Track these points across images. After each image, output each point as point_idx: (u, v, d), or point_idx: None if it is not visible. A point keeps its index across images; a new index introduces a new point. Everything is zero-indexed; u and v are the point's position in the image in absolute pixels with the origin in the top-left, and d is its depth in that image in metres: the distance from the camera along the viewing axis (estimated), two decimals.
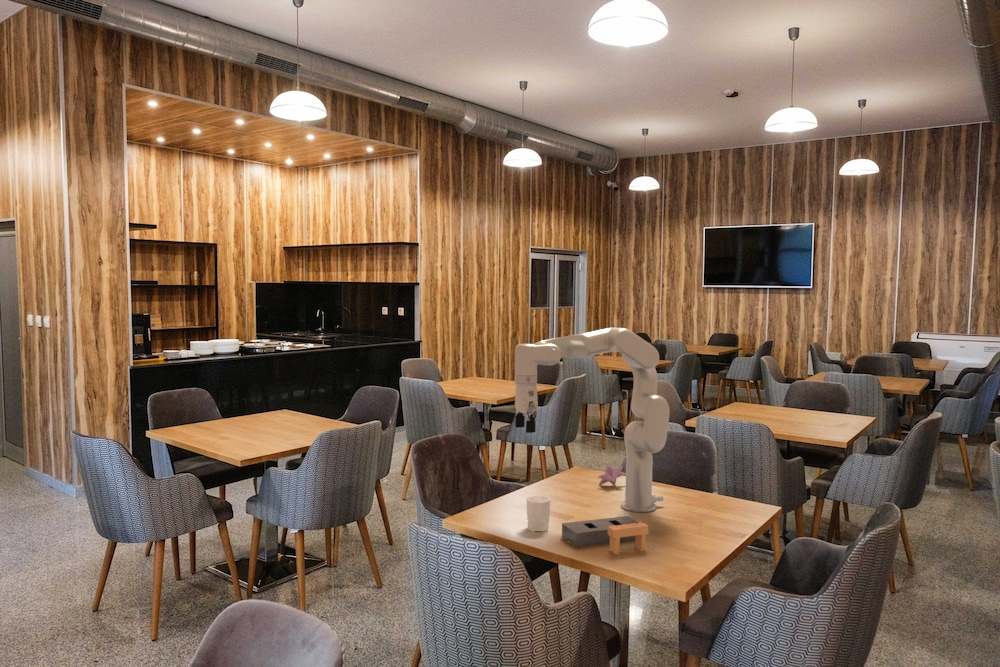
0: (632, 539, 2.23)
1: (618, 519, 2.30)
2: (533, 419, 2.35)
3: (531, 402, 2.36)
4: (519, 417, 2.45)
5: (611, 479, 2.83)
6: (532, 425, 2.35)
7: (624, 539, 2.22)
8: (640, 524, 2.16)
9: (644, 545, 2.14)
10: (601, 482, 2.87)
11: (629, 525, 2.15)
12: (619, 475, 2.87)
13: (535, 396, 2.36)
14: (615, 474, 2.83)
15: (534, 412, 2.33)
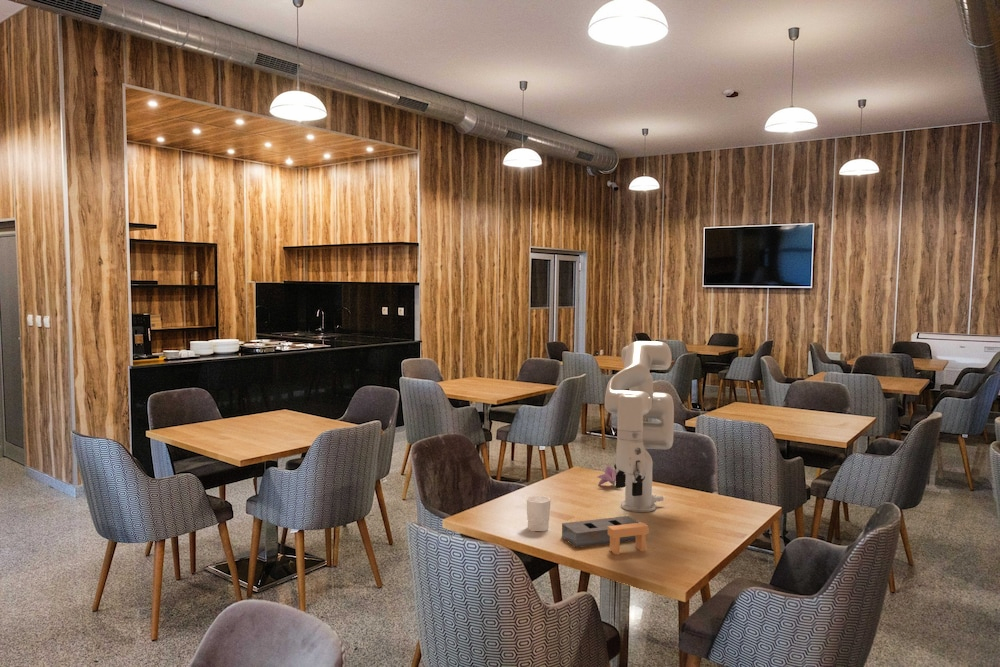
0: (632, 539, 2.23)
1: (618, 519, 2.30)
2: (641, 481, 2.07)
3: (638, 461, 2.08)
4: (620, 476, 2.17)
5: (610, 479, 2.83)
6: (639, 487, 2.08)
7: (624, 539, 2.22)
8: (640, 524, 2.16)
9: (644, 545, 2.14)
10: (600, 482, 2.87)
11: (629, 525, 2.15)
12: None
13: (642, 454, 2.09)
14: (614, 474, 2.84)
15: (643, 473, 2.05)
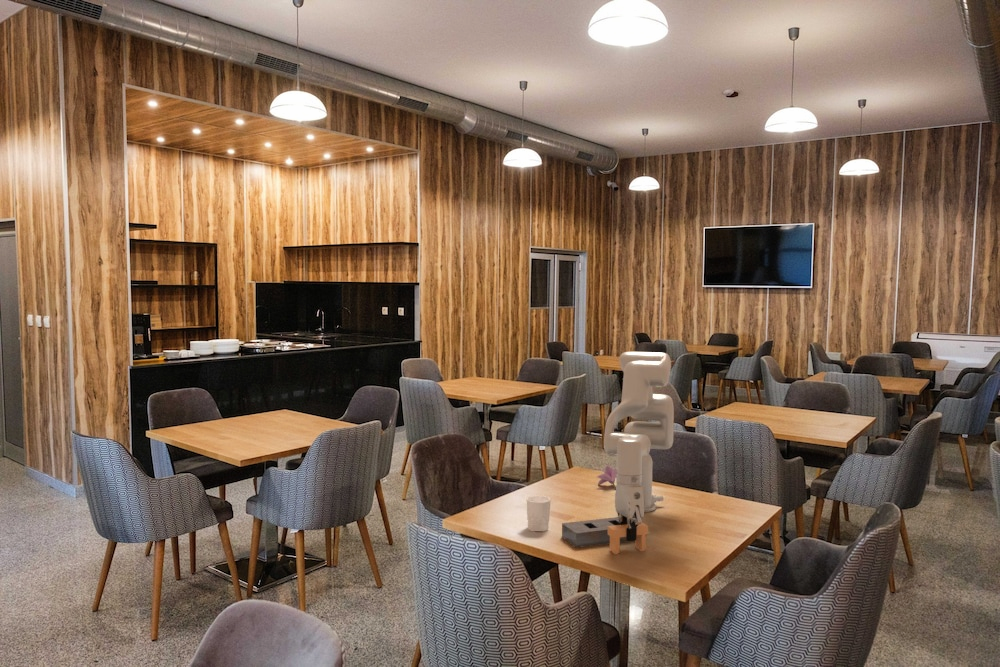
0: None
1: (618, 519, 2.30)
2: (635, 527, 2.11)
3: (636, 508, 2.09)
4: None
5: (610, 479, 2.83)
6: (633, 533, 2.11)
7: (624, 539, 2.22)
8: (640, 524, 2.16)
9: (644, 545, 2.14)
10: (600, 482, 2.87)
11: None
12: None
13: (641, 499, 2.10)
14: (614, 474, 2.84)
15: (638, 523, 2.08)
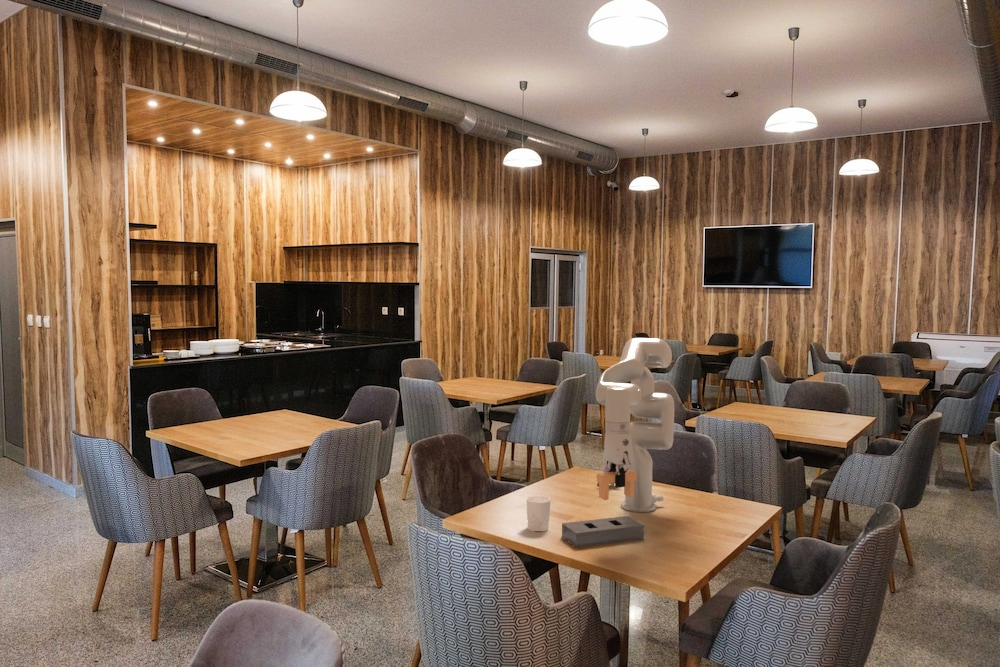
0: (632, 539, 2.23)
1: (618, 519, 2.30)
2: (623, 473, 2.15)
3: (625, 454, 2.14)
4: None
5: None
6: (622, 479, 2.16)
7: (624, 539, 2.22)
8: (628, 471, 2.20)
9: (632, 492, 2.19)
10: None
11: None
12: None
13: (630, 445, 2.14)
14: None
15: (626, 469, 2.13)
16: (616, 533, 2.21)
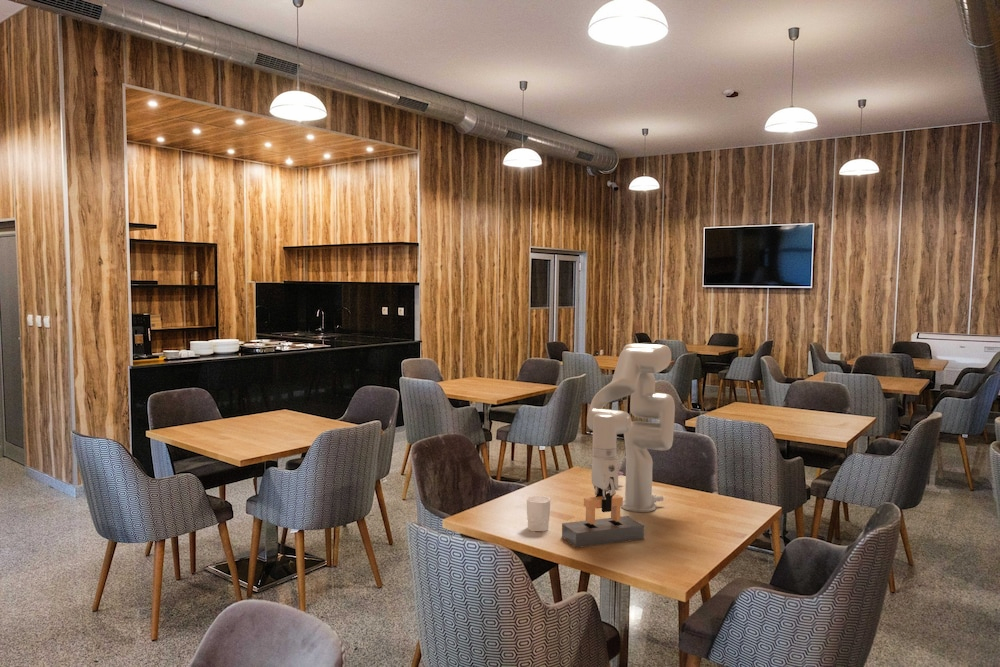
0: (632, 539, 2.23)
1: None
2: (610, 498, 2.21)
3: (611, 480, 2.20)
4: None
5: None
6: (608, 504, 2.22)
7: (624, 539, 2.22)
8: (615, 496, 2.26)
9: (619, 516, 2.25)
10: None
11: None
12: None
13: (616, 471, 2.20)
14: None
15: (612, 494, 2.18)
16: (616, 533, 2.21)
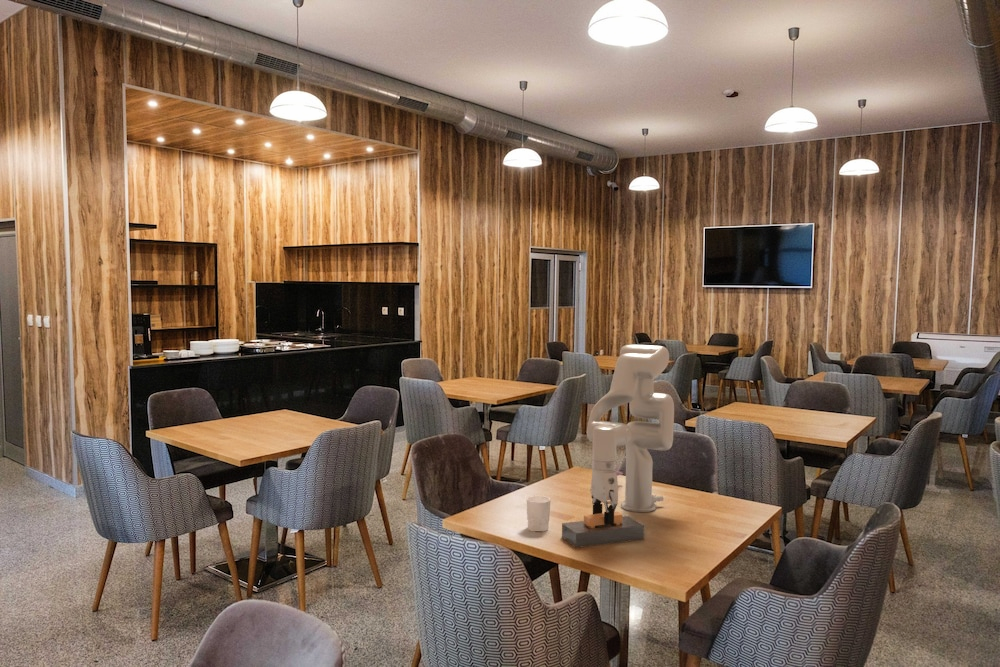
0: (632, 539, 2.23)
1: None
2: (612, 510, 2.20)
3: (611, 491, 2.20)
4: (597, 506, 2.28)
5: None
6: (611, 516, 2.20)
7: (624, 539, 2.22)
8: (615, 513, 2.26)
9: None
10: None
11: None
12: None
13: (615, 484, 2.20)
14: None
15: (614, 505, 2.17)
16: (616, 533, 2.21)
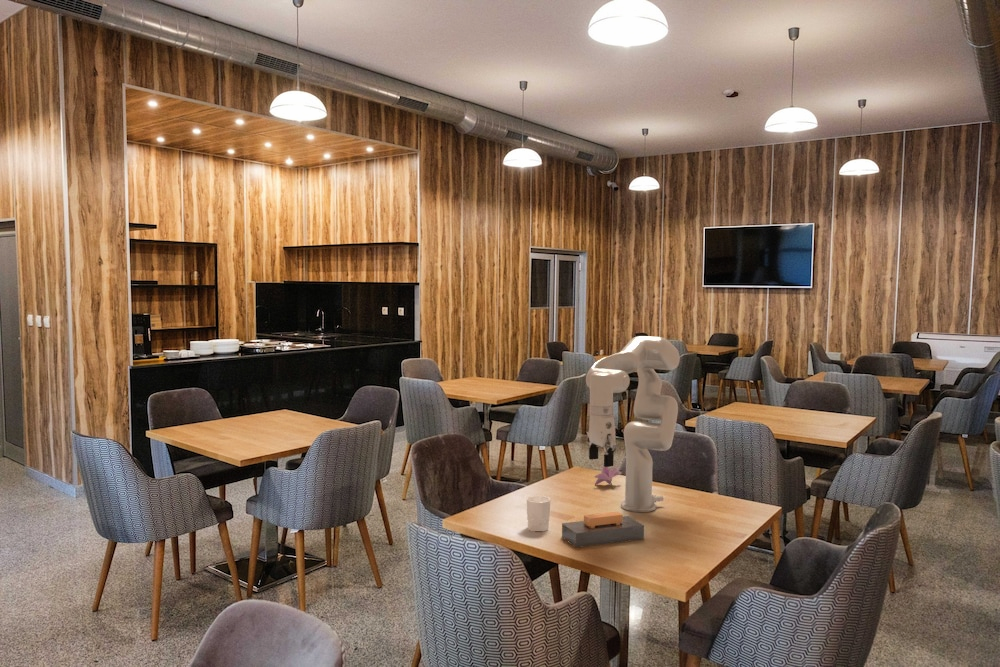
0: (632, 539, 2.23)
1: None
2: (612, 453, 2.23)
3: (609, 435, 2.24)
4: (593, 449, 2.33)
5: (607, 478, 2.84)
6: (610, 459, 2.24)
7: (624, 539, 2.22)
8: (615, 513, 2.26)
9: None
10: (597, 481, 2.87)
11: (604, 514, 2.25)
12: (615, 474, 2.88)
13: (613, 428, 2.24)
14: (611, 473, 2.84)
15: (613, 446, 2.21)
16: (616, 533, 2.21)
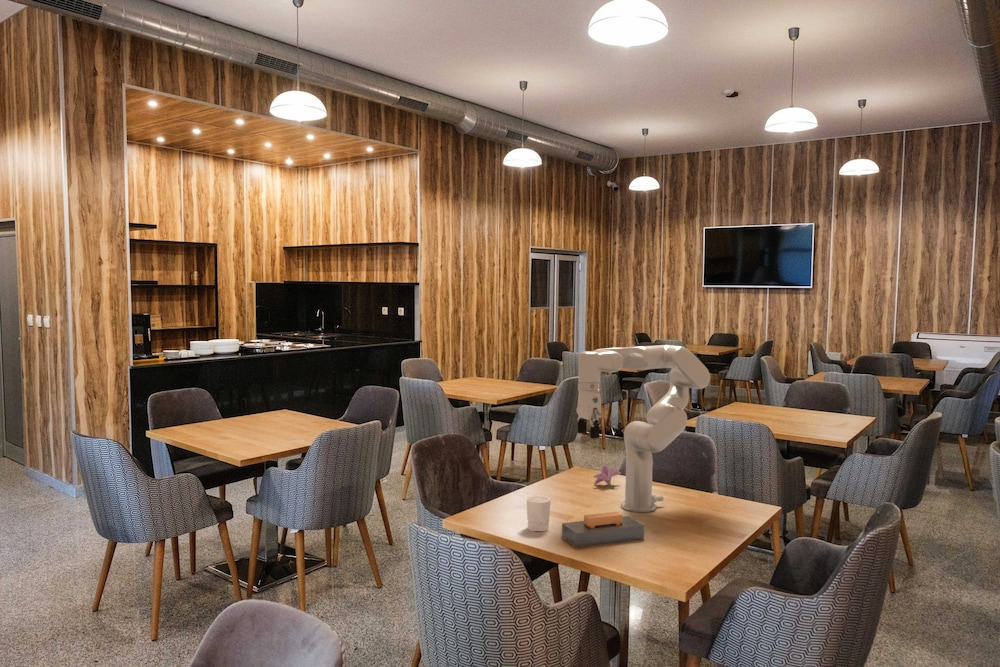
0: (632, 539, 2.23)
1: None
2: (597, 425, 2.41)
3: (595, 408, 2.42)
4: (581, 423, 2.51)
5: (606, 478, 2.84)
6: (596, 431, 2.42)
7: (624, 539, 2.22)
8: (615, 513, 2.26)
9: None
10: (596, 481, 2.88)
11: (604, 514, 2.25)
12: (614, 474, 2.88)
13: (599, 403, 2.42)
14: (610, 473, 2.85)
15: (599, 418, 2.39)
16: (616, 533, 2.21)
